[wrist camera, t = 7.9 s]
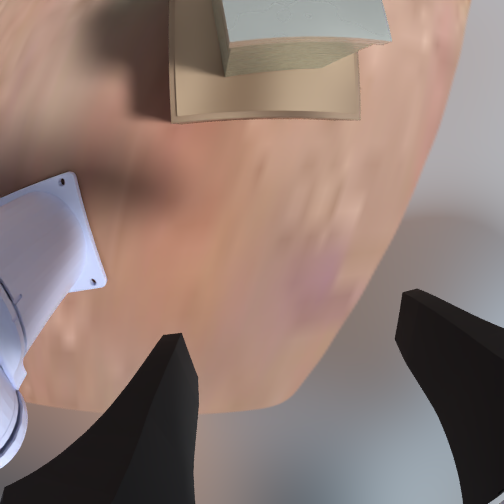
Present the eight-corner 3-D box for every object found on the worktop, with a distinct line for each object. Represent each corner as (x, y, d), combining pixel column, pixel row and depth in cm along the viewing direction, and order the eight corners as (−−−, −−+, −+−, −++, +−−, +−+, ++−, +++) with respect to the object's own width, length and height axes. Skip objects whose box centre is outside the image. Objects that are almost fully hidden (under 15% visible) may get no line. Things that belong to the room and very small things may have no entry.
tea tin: (223, 79, 11) (230, 42, 6) (208, -6, 10) (207, -77, 4) (323, 70, 12) (392, 41, 6) (305, -12, 10) (356, -71, 4)
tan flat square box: (181, 124, 16) (170, 123, 12) (179, -8, 12) (170, -38, 8) (332, 120, 17) (361, 120, 13) (324, -6, 13) (348, -30, 9)
